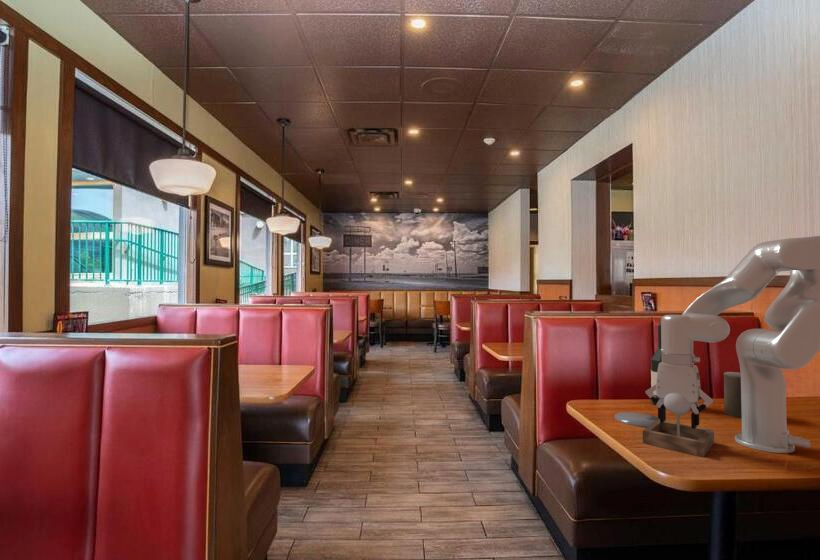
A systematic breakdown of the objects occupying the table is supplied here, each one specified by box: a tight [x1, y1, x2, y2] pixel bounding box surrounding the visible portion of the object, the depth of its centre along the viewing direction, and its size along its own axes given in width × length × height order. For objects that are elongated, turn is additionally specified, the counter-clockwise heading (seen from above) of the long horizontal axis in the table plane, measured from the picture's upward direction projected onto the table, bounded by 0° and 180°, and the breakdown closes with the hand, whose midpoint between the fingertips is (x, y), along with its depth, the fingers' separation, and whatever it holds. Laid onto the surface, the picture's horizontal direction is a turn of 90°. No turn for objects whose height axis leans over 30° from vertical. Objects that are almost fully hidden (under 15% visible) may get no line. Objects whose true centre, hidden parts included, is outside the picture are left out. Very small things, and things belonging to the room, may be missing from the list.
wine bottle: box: [650, 322, 662, 407], centre depth 156 cm, size 8×8×30 cm
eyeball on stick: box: [663, 393, 692, 436], centre depth 118 cm, size 7×7×15 cm
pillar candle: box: [723, 371, 742, 419], centre depth 144 cm, size 10×10×15 cm
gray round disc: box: [614, 411, 660, 428], centre depth 138 cm, size 14×14×1 cm
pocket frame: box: [642, 419, 715, 458], centre depth 118 cm, size 14×14×4 cm
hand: (678, 423), depth 118 cm, fingers open, 6 cm apart
